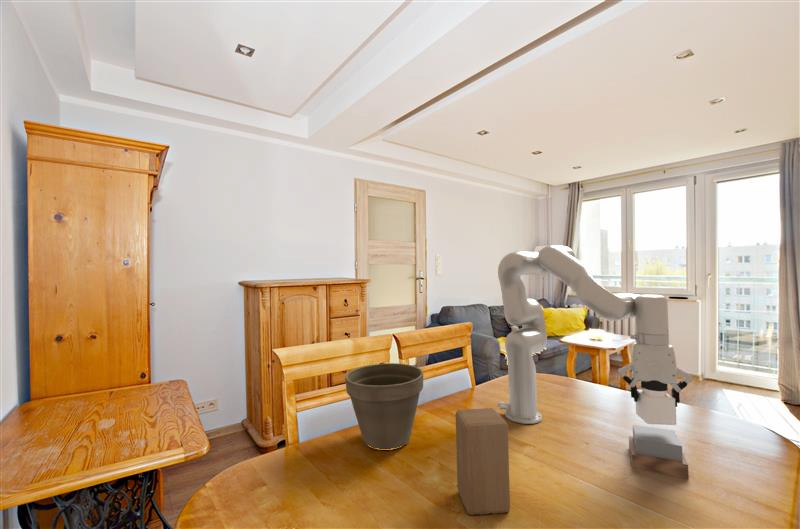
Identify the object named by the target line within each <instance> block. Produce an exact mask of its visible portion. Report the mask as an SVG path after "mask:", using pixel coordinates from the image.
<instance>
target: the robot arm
mask: <svg viewBox="0 0 800 529" xmlns="http://www.w3.org/2000/svg"><path fill="white" fill-rule="evenodd" d="M547 273H549V274H551V275H552V276H554V277H555V278H556V279H558V280H560V281H561V282H562V283H563V284H565V285H566V286H567V287H569V288H570V289H571V290H572V292H573V293H574V295H575V296H576V297H577V298H578V300H579V301H580V302H581V303H582V304H583V305H585V306H586V307H587V308H589V309H590V310H591V311H593V312H594V313H595V314H597V315H598V316H599V317H601V318H603V319H605V320H607V321H611V322H616V321H617V322H618V321H621V320H626V319H630V318H631V319H633V318H635V333H633V334H629V339H630V340H633V341H634V343H633V345H632V352H631V362H630V363H628V364H627V365H624V366H622V367H620V368H618V369H617V370H618V374H619V375H620V376H621V378H622V380H623V381H624V382H626V383H627V384H628V385H629V386H630V398H633V401H634V403H636V402H638V397H637V389H638V387H637V385H638V383H639V382H641V381H644V382H649V381H652V380H656V381H660V382H661V383H664V384H667V385H670V386H671V387H672V388H671V392H670V393H671V396H672V397H673V398H675V403H676V408H678V404H680V403H681V402H680V400H681V399H680V398H681V397H680V392H682V390H683V389H685V388H686V387H687V386H688V385H689V383H690V382H691V381H692V380H693V376H692V375H691V374H689V373H687V372H685V371H684V370H682V369H681V368H680V367H677V359H676V358H677V357H676V354H675V349H674V346H673V345H672V344H670V334H669V332H670V331H669V308H668V299H667V297H665V296H664V295H661V294H636V293H629V292H620V293H613V292H611V291H610V290H608V289H607V288H605V287H604V286H602V285H601V284H599V283H598V282H597V281H596V280H595V279H594V277H593V276H592V270H591V267H589V266H588V265H587V264H586V263H583V262H582V261H580V260H579V259H577V258H576V254H575V252H574V251H573V249H571V248H570V247H568V246H565V245H559V244H558V245H557V244H555V245H553V244H550V245H546V246H543V247H542V248H541V249H540V250H538V251H525V250H523V251H512V252H510V253H508V254H506V255H505V256H503V257H502V259H501V260H500V262H499V264H498V268H497V277H498V281H499V284H500V291H501V297H502V298H501V299H502V305H503V312H504V317H505V321H506V322H507V324H509V325H510V326H514V327H517V326H518V327H519V326H521V327H522V328H519V329H515V330H512V331H511V332H509V333H508V334H507V336H506V337H505V340H504V348H505V352H506V357H507V369H508V370H507V371H508V372H507V373H508V399H509V400H508V401H507V402H503V401H497V407H498V408H499V409H500V410H505V413H504V415H505V416H504V417H506V419H508V420H509V421H512V422H514V423H518V424H523V425H525V424H527V425H532V424H537V423H540V422H541V421H542V420H543V415H542V414H541V413H540V412H539V411H538V403H537V402H538V397H537V392H538V391H537V369H536V363H535V361H534V358H533V354H537V353H539V352H542V351H544V350H545V348H546V347H547V345H548V335H547V334H548V333H547V327H546V321H545V320H546V319H545V314H544V311H543V308H542V306H541V304H540V302H538V301H537V300H536V299H533V298H528V297H527V294H526V292H527V291H526V287H525V284H524V282H523V280H522V278H521V276H523V275H525V276H526V275H539V274H547ZM629 371H631V374H632V378H630V377H629V376H628V375H627V374H626V373H627V372H629ZM678 375H679V376H681V377H683V378H682V379H681V381H679V382H678V380H679V379H678ZM677 382H678V383H677Z"/></svg>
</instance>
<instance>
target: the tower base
mask: <svg viewBox="0 0 800 529" xmlns="http://www.w3.org/2000/svg"><path fill="white" fill-rule="evenodd" d="M628 449H629V455H630V456H629V457H630V459H631V468H632V469H636V470H643V471H645V472H646V471H647V472H652V473H656V474H662V475H667V476H672V477H675V478H676V477H678V478H682V479H687V480H688V479H690V478H689V464H688V463H689V462H688V461H687V459H686V457H685V455H684V453H683V452H684V451H682V456H683V462H681V461H675V460H670V459H664V458H658V457H653V456H647V455H642V454H637V453H636V449H635V444H634V440H633V436H628Z"/></svg>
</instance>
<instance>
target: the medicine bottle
mask: <svg viewBox="0 0 800 529" xmlns="http://www.w3.org/2000/svg"><path fill="white" fill-rule="evenodd" d="M640 387H641V388H640V389H638V388H637V397H638V402H635V414H636V415H637V416H638V417H639V418H641V420H643V421H644V422H645V423H646V424H647V425H662V426H664V425H666V426H676V425H677V407H676V403H675V398H673V397H672V395H670V394H668V392H669V391H668V389H669V387H668V384H664V383H661V382H660V381H656V380H652V381H649V382H644V381H640Z"/></svg>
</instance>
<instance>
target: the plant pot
mask: <svg viewBox="0 0 800 529" xmlns="http://www.w3.org/2000/svg"><path fill="white" fill-rule="evenodd" d="M344 381H345V390H346V394H347V395H348V396H349V397H350V401H351V405H352V408H353V411H354V414H355V417H356V418H355V419H356V420H357V424H358V427H359V431H360V434H361V437H362V440H363V442H364V444H365V443H366V444H367V445H369V446H371V447H373V448H379V449H391V448H397V447H400V446H403V445H405V444H406V443H407V444H409V442H410V439H411V435H412V432H413V427H414V422H415V417H416V413H417V408H418V404H419V399H420V394H421V392H422V391H423V389H424V371H423V369H421V368H420V367H417V366H415V365H411V364H405V363H399V362H398V363H395V362H390V363H389V362H387V363H384V362H383V363H376V364H369V365H365V366H360V367H357V368H354V369H351V370H350V371H348V372H347V373H346V375H345V377H344ZM366 444H365V445H366ZM407 444H406V445H407ZM367 445H366V446H367ZM406 445H405V446H406ZM403 447H404V446H403Z"/></svg>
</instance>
